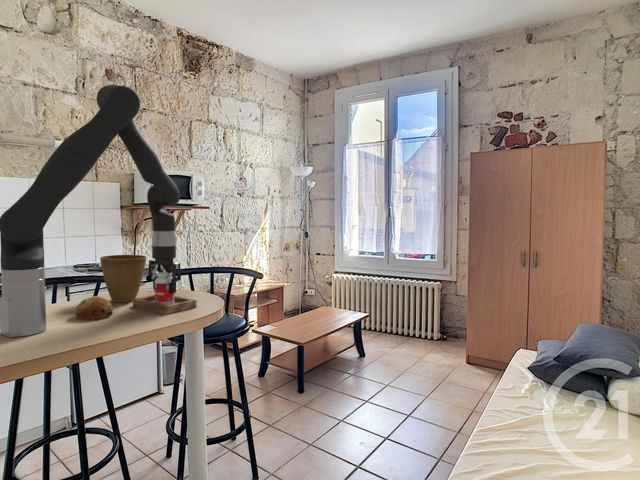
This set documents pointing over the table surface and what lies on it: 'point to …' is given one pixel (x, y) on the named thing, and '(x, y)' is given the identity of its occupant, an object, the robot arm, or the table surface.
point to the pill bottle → (163, 290)
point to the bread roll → (94, 309)
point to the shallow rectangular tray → (177, 306)
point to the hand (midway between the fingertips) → (164, 291)
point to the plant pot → (123, 276)
